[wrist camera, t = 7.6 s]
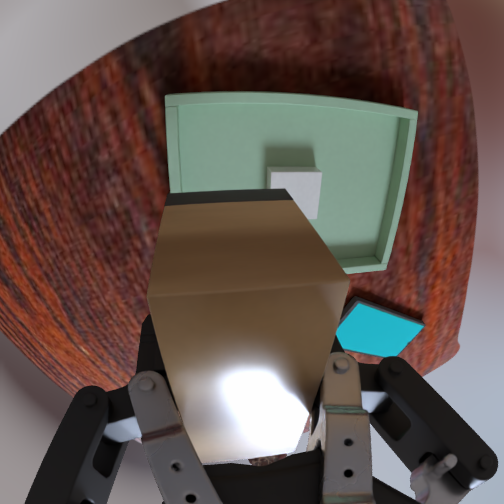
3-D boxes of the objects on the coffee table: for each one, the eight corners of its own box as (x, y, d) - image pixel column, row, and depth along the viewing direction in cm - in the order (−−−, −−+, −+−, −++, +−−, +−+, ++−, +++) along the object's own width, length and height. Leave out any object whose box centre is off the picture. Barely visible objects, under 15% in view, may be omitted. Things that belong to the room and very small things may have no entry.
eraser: (167, 193, 11) (145, 295, 6) (285, 187, 12) (351, 279, 7) (190, 365, 16) (197, 463, 11) (270, 358, 17) (295, 451, 12)
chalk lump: (266, 166, 23) (271, 171, 22) (315, 166, 24) (322, 171, 23) (264, 213, 25) (268, 221, 24) (311, 211, 26) (317, 219, 25)
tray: (167, 94, 20) (164, 95, 18) (404, 107, 23) (418, 111, 21) (181, 274, 28) (180, 288, 26) (376, 258, 31) (386, 269, 29)
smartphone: (357, 300, 32) (426, 325, 38) (354, 295, 33) (423, 321, 38) (318, 345, 35) (393, 360, 40) (316, 340, 36) (390, 356, 41)
